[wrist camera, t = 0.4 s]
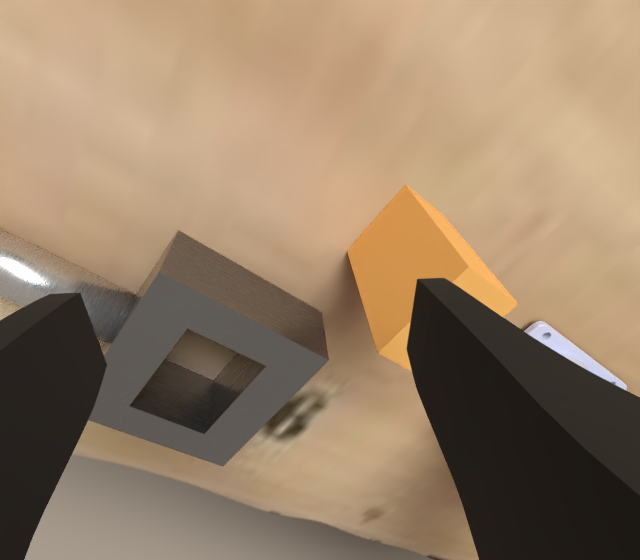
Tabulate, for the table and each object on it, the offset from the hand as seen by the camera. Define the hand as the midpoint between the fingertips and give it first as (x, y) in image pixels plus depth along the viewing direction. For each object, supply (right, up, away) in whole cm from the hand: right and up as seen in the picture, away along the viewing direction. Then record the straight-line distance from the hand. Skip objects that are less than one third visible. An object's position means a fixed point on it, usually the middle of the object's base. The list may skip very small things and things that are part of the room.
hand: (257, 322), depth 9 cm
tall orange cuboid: (+5, +3, +10) cm, 11 cm away
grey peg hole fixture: (-8, 0, +10) cm, 13 cm away
